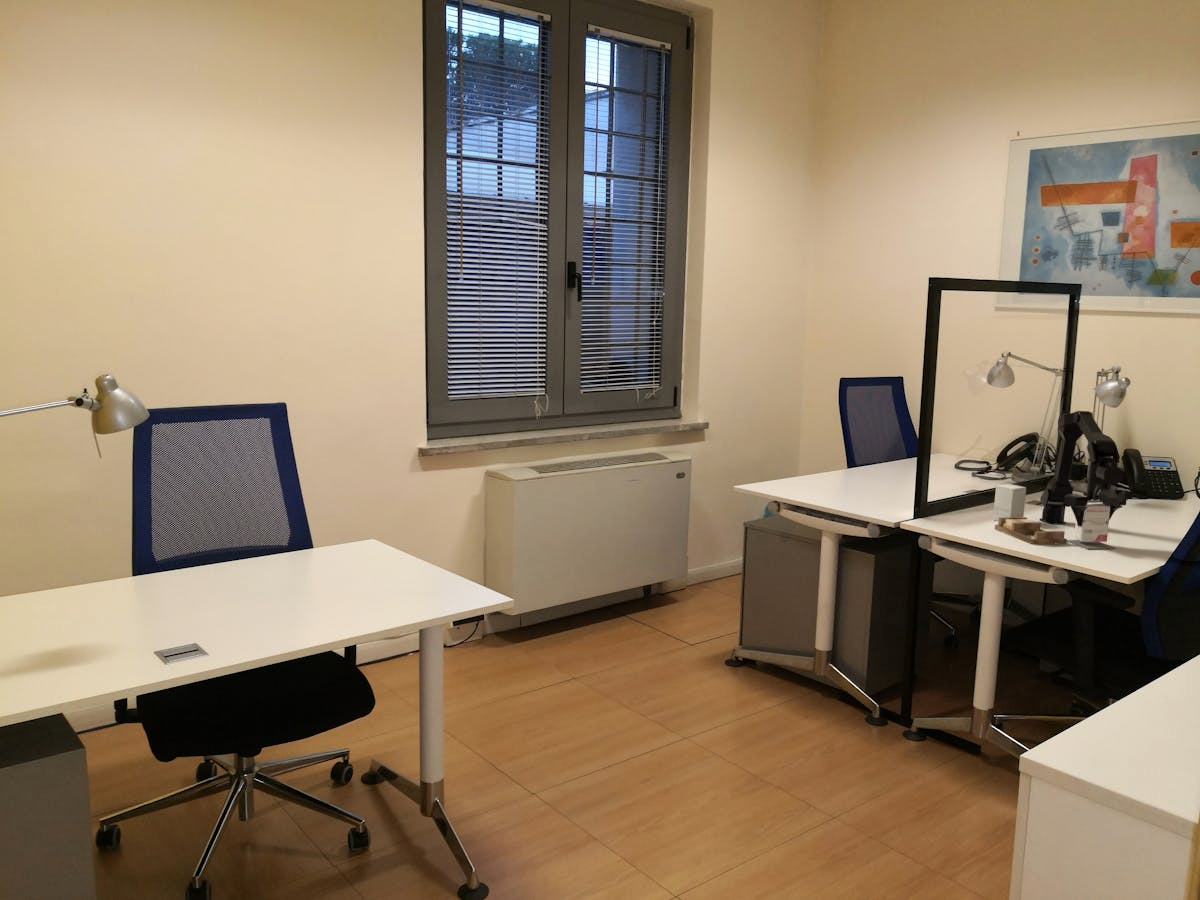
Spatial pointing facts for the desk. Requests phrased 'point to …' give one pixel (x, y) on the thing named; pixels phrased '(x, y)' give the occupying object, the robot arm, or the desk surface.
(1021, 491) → the supplement box
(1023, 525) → the walnut rack
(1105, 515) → the ink box
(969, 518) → the desk surface
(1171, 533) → the desk surface
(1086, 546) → the dark grey mat
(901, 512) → the desk surface
